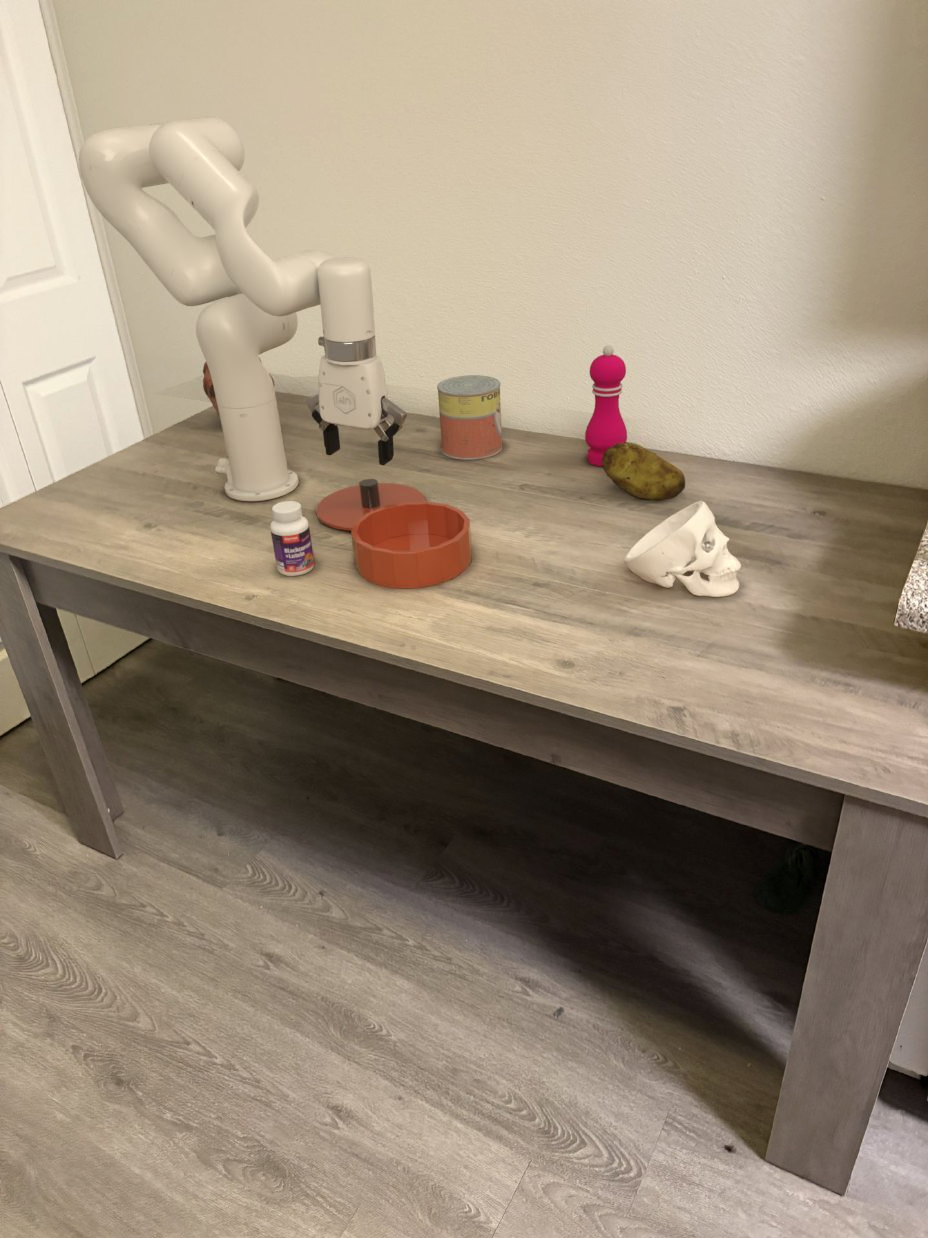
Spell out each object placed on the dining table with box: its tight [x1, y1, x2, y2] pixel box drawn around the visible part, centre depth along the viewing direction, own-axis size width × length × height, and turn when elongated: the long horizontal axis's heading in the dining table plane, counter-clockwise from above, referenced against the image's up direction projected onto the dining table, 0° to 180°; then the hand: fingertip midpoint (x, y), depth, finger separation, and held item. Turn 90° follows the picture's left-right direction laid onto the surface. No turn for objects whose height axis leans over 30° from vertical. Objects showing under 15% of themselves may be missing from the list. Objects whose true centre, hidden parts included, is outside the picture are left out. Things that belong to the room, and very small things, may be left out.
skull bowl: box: [623, 500, 742, 598], centre depth 122 cm, size 10×14×12 cm
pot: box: [350, 501, 473, 589], centre depth 131 cm, size 17×17×6 cm
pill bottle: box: [269, 500, 315, 577], centre depth 130 cm, size 5×5×10 cm
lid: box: [315, 478, 427, 532], centre depth 147 cm, size 18×18×5 cm
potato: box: [602, 441, 686, 500], centre depth 146 cm, size 8×13×8 cm, turn 46°
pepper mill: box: [584, 344, 628, 467], centre depth 156 cm, size 7×7×20 cm
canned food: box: [436, 374, 503, 461], centre depth 167 cm, size 11×11×12 cm
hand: (359, 457), depth 144 cm, fingers open, 9 cm apart
